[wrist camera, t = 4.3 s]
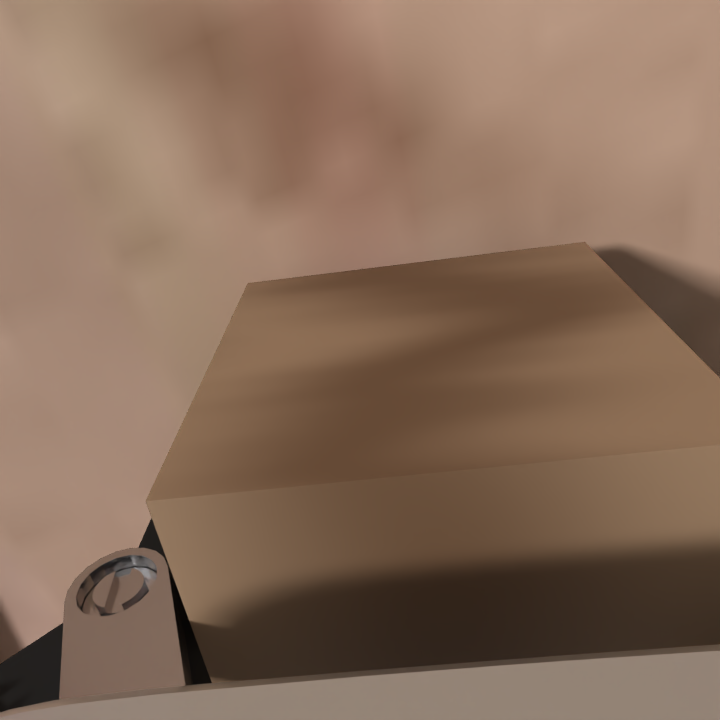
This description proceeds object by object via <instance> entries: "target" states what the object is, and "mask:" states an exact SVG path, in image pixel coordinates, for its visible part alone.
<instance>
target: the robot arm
mask: <svg viewBox="0 0 720 720" xmlns="http://www.w3.org/2000/svg"><path fill="white" fill-rule="evenodd" d="M0 720H720V644H717V645H702V646H688V647H674V648H660V649H646V650H631V651H617V652H603V653H589V654H575V655H562V656H549V657H535V658H522V659H509V660H496V661H482V662H469V663H456V664H443V665H430V666H417V667H404V668H391V669H378V670H366V671H354V672H342V673H329V674H317V675H305V676H293V677H281V678H268V679H256V680H244V681H232V682H219V683H212V682H211V679H210V676H209V673H208V671H207V668H206V665H205V663H204V660H203V657H202V654H201V652H200V649H199V646H198V643H197V641H196V638H195V635H194V632H193V630H192V627H191V624H190V621H189V619H188V616H187V613H186V610H185V608H184V605H183V602H182V599H181V597H180V594H179V591H178V589H177V586H176V583H175V580H174V578H173V575H172V572H171V569H170V567H169V564H168V561H167V558H166V556H165V553H164V550H163V547H162V545H161V542H160V539H159V536H158V534H157V531H156V528H155V526H154V523H153V520H152V518H151V520H150V523H149V525H148V527H147V529H146V532H145V534H144V536H143V539H142V541H141V543H140V545H139V548H129V549H125V550H121V551H116V552H114V553H112V554H109V555H107V556H105V557H103V558H100V559H99V560H97V561H96V562H94V563H93V564H91V565H90V566H88V567H87V568H86V569H85V570H84V571H83V572H82V573H81V574H80V575H79V576H78V577H77V578H76V579H75V580H74V582H73V583H72V585H71V586H70V588H69V589H68V591H67V595H66V599H65V603H64V620H63V623H62V624H61V625H59V626H58V627H56V628H55V629H53V630H51V631H50V632H48V633H47V634H45V635H44V636H42V637H41V638H39V639H38V640H36V641H35V642H33V643H32V644H30V645H29V646H27V647H26V648H24V649H23V650H21V651H19V652H18V653H16V654H15V655H13V656H12V657H10V658H9V659H7V660H6V661H4V662H3V663H1V664H0Z"/></svg>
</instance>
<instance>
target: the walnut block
mask: <svg viewBox="0 0 720 720" xmlns="http://www.w3.org/2000/svg"><path fill="white" fill-rule="evenodd" d="M146 504H147V506H148V509H149V512H150V515H151V517H152V520H153V523H154V526H155V528H156V531H157V534H158V536H159V539H160V542H161V545H162V547H163V550H164V553H165V556H166V558H167V561H168V564H169V567H170V569H171V572H172V575H173V578H174V580H175V583H176V586H177V589H178V591H179V594H180V597H181V599H182V602H183V605H184V608H185V610H186V613H187V616H188V619H189V621H190V624H191V627H192V630H193V632H194V635H195V638H196V641H197V643H198V646H199V649H200V652H201V654H202V657H203V660H204V663H205V665H206V668H207V671H208V673H209V676H210V679H211V682H212V683H219V682H232V681H244V680H256V679H268V678H281V677H293V676H305V675H317V674H329V673H342V672H354V671H366V670H378V669H391V668H404V667H417V666H430V665H443V664H456V663H469V662H482V661H496V660H509V659H522V658H535V657H549V656H562V655H575V654H589V653H603V652H617V651H631V650H646V649H660V648H674V647H688V646H702V645H717V644H720V378H719V377H718V376H717V375H716V374H715V373H714V372H713V371H712V370H711V369H710V368H709V367H708V366H707V365H706V364H705V363H704V362H703V361H702V360H701V359H700V358H699V357H698V356H697V355H696V354H695V353H694V352H693V351H692V350H691V349H690V347H689V346H688V345H687V344H686V343H685V342H684V341H683V340H682V339H681V338H680V337H679V336H678V335H677V334H676V333H675V332H674V331H673V330H672V329H671V328H670V327H669V326H668V325H667V324H666V323H665V322H664V321H663V320H662V319H661V318H660V317H659V316H658V315H657V314H656V313H655V312H654V311H653V310H652V309H651V308H650V307H649V306H648V305H647V304H646V303H645V302H644V301H643V300H642V299H641V298H640V297H639V296H638V295H637V294H636V293H635V292H634V291H633V290H632V289H631V288H630V287H629V286H628V285H627V284H626V283H625V282H624V281H623V280H622V279H621V278H620V277H619V276H618V275H617V274H616V273H615V272H614V271H613V270H612V269H611V268H610V267H609V266H608V265H607V264H606V263H605V262H604V261H603V260H602V259H601V258H600V257H599V256H598V255H597V254H596V253H595V252H594V251H593V250H592V249H591V248H590V247H589V246H588V245H587V244H586V243H585V242H581V243H573V244H565V245H557V246H548V247H540V248H532V249H524V250H516V251H508V252H499V253H491V254H483V255H475V256H467V257H459V258H450V259H442V260H434V261H426V262H418V263H410V264H401V265H393V266H385V267H377V268H369V269H360V270H352V271H344V272H336V273H328V274H320V275H311V276H303V277H295V278H287V279H279V280H271V281H262V282H254V283H248V284H247V286H246V288H245V291H244V293H243V295H242V297H241V299H240V301H239V303H238V305H237V308H236V310H235V312H234V314H233V316H232V318H231V320H230V322H229V325H228V327H227V329H226V331H225V333H224V335H223V337H222V340H221V342H220V344H219V346H218V348H217V350H216V352H215V354H214V357H213V359H212V361H211V363H210V365H209V367H208V369H207V372H206V374H205V376H204V378H203V380H202V382H201V384H200V386H199V389H198V391H197V393H196V395H195V397H194V399H193V401H192V404H191V406H190V408H189V410H188V412H187V414H186V416H185V418H184V421H183V423H182V425H181V427H180V429H179V431H178V433H177V435H176V438H175V440H174V442H173V444H172V446H171V448H170V450H169V453H168V455H167V457H166V459H165V461H164V463H163V465H162V467H161V470H160V472H159V474H158V476H157V478H156V480H155V482H154V485H153V487H152V489H151V491H150V493H149V495H148V497H147V499H146Z"/></svg>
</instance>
